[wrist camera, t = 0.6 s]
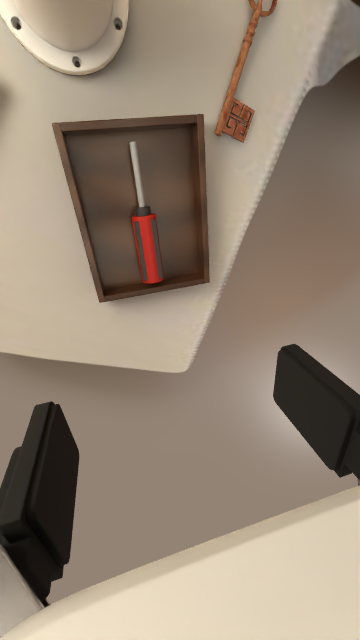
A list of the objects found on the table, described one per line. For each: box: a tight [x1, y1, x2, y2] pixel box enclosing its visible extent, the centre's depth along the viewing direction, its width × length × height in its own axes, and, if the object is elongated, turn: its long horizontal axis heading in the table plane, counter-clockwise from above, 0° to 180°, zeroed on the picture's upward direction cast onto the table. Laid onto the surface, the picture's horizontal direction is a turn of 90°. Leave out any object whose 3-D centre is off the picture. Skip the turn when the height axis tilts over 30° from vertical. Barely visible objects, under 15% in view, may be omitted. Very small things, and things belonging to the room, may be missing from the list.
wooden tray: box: [52, 114, 210, 303], centre depth 34 cm, size 21×17×3 cm
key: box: [215, 0, 277, 142], centre depth 31 cm, size 6×1×15 cm
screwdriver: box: [129, 142, 164, 284], centre depth 34 cm, size 17×3×3 cm, turn 5°
